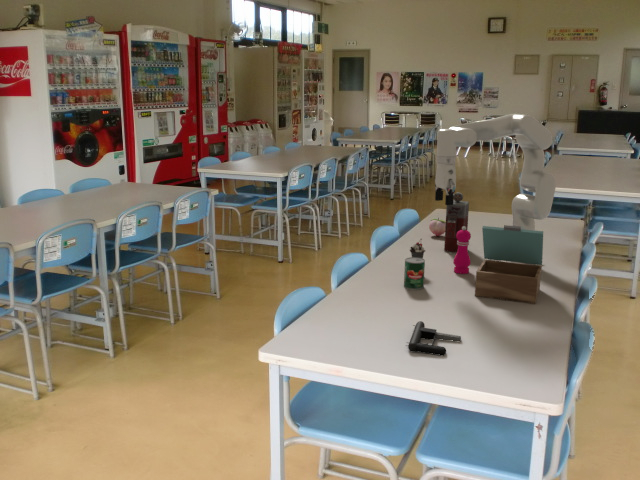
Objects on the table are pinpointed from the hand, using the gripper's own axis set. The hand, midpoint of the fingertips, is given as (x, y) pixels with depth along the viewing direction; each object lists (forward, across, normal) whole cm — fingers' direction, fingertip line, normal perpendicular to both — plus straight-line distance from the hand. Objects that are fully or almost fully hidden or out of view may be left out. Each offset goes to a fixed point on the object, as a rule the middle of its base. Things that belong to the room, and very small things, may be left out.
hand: (443, 202), depth 260 cm
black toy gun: (+32, -63, +31) cm, 77 cm away
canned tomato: (+32, -9, +16) cm, 37 cm away
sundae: (+32, +7, +8) cm, 33 cm away
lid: (+14, -23, -19) cm, 32 cm away
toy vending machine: (+32, +37, -24) cm, 55 cm away
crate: (+32, -25, -17) cm, 44 cm away
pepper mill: (+32, +4, -12) cm, 34 cm away
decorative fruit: (+32, +66, -28) cm, 79 cm away
